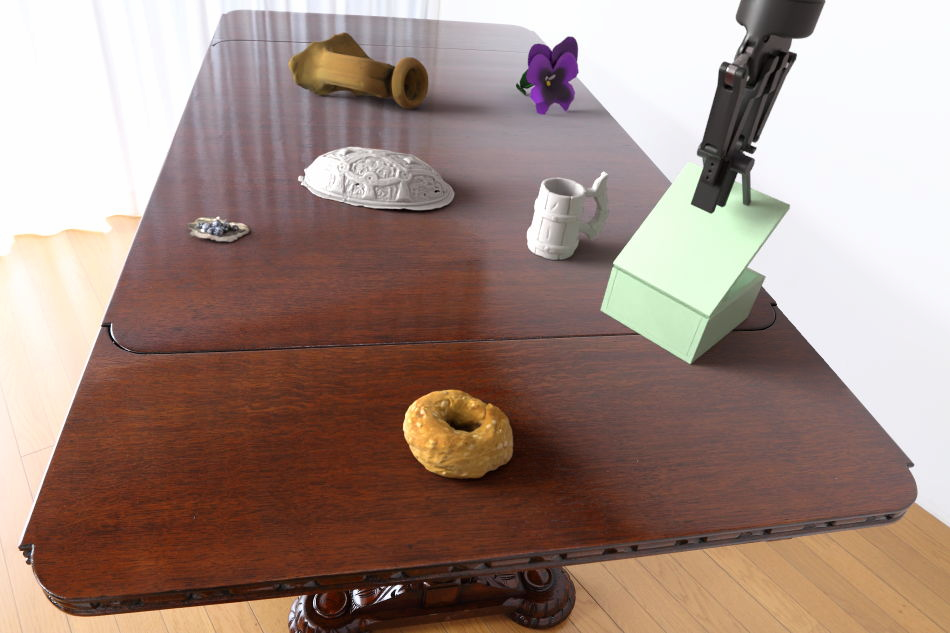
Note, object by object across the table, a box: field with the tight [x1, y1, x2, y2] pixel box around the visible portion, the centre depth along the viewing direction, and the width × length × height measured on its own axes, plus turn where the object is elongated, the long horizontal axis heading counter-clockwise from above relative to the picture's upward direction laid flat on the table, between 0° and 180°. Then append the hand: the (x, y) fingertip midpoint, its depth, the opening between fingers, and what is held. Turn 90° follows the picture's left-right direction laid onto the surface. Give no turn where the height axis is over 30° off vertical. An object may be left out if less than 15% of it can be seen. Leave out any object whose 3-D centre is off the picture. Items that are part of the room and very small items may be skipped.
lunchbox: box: [600, 265, 766, 365], centre depth 89 cm, size 16×14×7 cm
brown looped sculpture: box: [288, 31, 429, 110], centre depth 137 cm, size 18×13×22 cm
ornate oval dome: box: [297, 146, 455, 211], centre depth 108 cm, size 16×25×7 cm, turn 84°
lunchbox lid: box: [612, 141, 791, 318], centre depth 78 cm, size 16×14×10 cm
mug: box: [526, 171, 610, 261], centre depth 98 cm, size 8×12×12 cm, turn 106°
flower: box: [515, 36, 580, 115], centre depth 149 cm, size 15×15×14 cm
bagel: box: [402, 389, 514, 480], centre depth 66 cm, size 10×11×5 cm
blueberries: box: [187, 216, 251, 243], centre depth 93 cm, size 7×8×2 cm
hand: (708, 204), depth 79 cm, fingers closed on lunchbox lid, 2 cm apart
